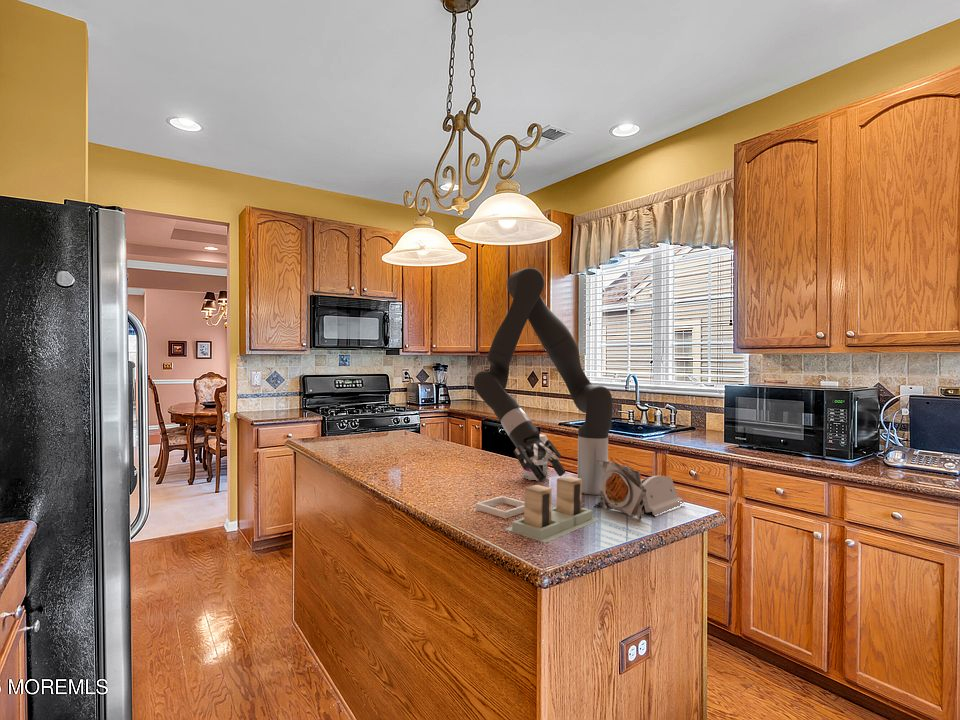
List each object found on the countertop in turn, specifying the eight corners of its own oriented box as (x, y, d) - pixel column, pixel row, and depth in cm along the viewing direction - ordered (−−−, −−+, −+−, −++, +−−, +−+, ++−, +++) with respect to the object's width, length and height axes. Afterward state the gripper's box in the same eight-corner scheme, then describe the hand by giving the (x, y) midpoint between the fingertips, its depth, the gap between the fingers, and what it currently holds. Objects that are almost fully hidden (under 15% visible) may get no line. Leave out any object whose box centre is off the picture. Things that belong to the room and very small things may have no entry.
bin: (502, 504, 142) (502, 495, 142) (531, 513, 134) (531, 504, 134) (475, 512, 134) (475, 503, 134) (505, 522, 127) (505, 512, 127)
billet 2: (566, 514, 131) (566, 475, 131) (581, 518, 128) (582, 479, 128) (556, 518, 128) (556, 478, 128) (571, 522, 124) (572, 482, 124)
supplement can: (521, 480, 170) (521, 436, 170) (526, 474, 178) (527, 432, 178) (545, 482, 168) (545, 437, 168) (549, 476, 176) (549, 433, 176)
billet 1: (535, 525, 122) (536, 484, 122) (551, 530, 118) (552, 488, 118) (524, 530, 118) (524, 487, 118) (539, 535, 115) (540, 491, 115)
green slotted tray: (560, 512, 136) (561, 501, 136) (600, 523, 127) (600, 511, 127) (504, 533, 119) (504, 520, 119) (545, 547, 111) (545, 533, 111)
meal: (591, 507, 141) (592, 460, 140) (601, 505, 143) (602, 459, 143) (636, 522, 128) (637, 471, 128) (646, 519, 131) (647, 469, 131)
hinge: (654, 517, 133) (643, 479, 135) (639, 519, 136) (629, 482, 138) (685, 505, 144) (674, 470, 146) (670, 507, 147) (660, 473, 149)
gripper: (510, 422, 132) (545, 473, 124) (543, 417, 142) (577, 464, 135) (495, 439, 136) (528, 490, 128) (528, 434, 146) (560, 480, 138)
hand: (553, 476), depth 131 cm, fingers open, 8 cm apart
